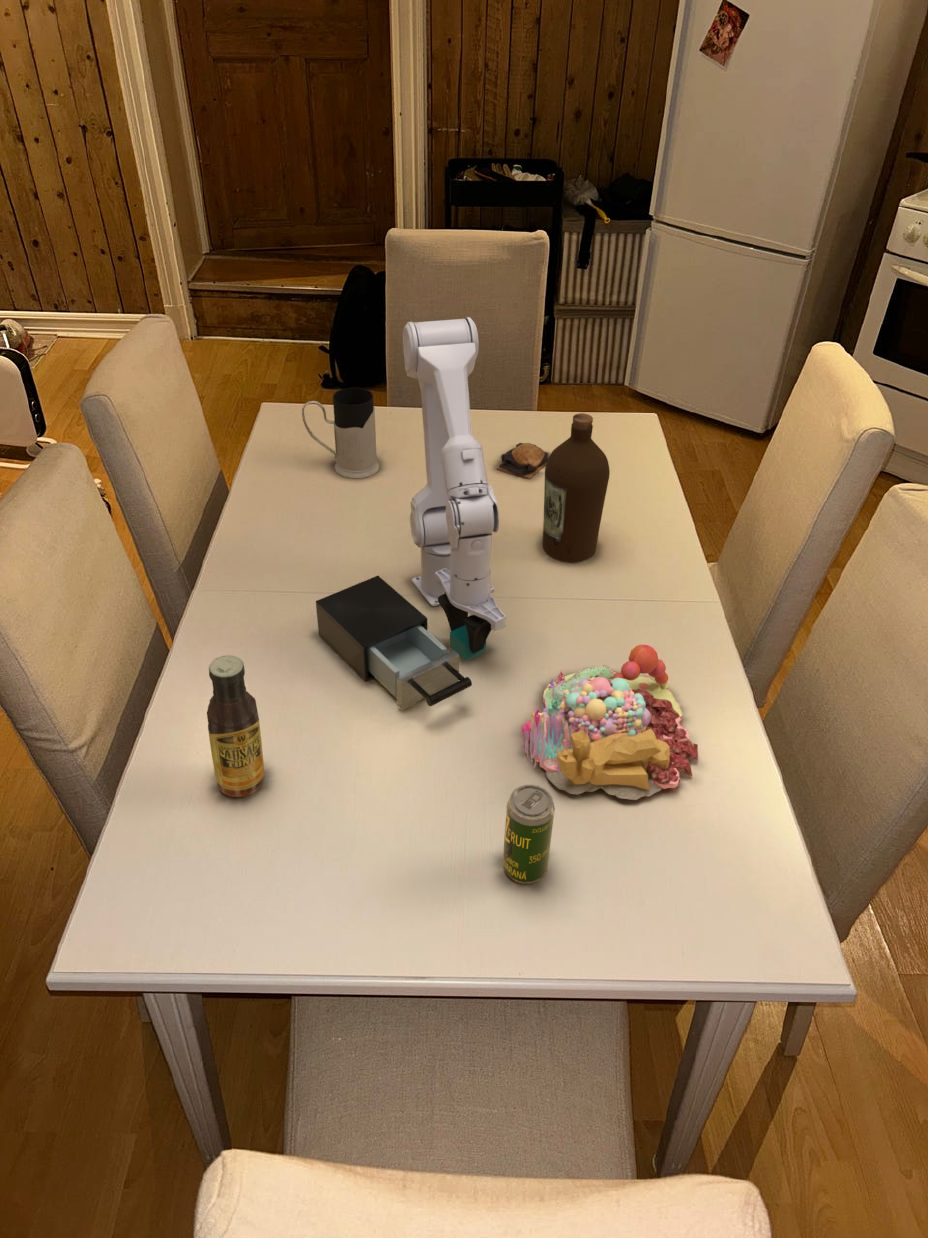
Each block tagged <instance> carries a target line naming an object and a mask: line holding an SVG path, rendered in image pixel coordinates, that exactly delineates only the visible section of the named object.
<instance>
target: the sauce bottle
mask: <svg viewBox="0 0 928 1238" xmlns="http://www.w3.org/2000/svg"><path fill="white" fill-rule="evenodd" d="M245 674H246V670H245V665H244V661H243V660H242V659H241V658H240V657H238V656H235V655H232V654H231V655H229V654H227V655H221V656H218V657H216V658H214V659H213V660H212V661H211V662H210V664H209V666H208V677H209V679H210V680H211V683H212V696H211V698H210V699H209V703H208V705H207V710H206V718H207V731H208V737H209V746H210V753H211V759H212V765H213V772H214V777H215V781H216V783H217V784H216V785H217V788H218V790H219V791H220V792H221V793H222V794H223V795H225V796H227V797H232V798H244V797H248V796H250V795H251V794H253V793H255V792H256V791H258V790H259V789H260V788H261V787H262V785H263V782H264V777H265V763H264V754H263V741H262V733H261V726H260V718H259V711H258V705H257V701H256V698H255V697H254V696H253V695H251V693H250V692H248V691H247V687H246V685H245Z"/></svg>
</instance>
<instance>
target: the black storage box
mask: <svg viewBox="0 0 928 1238" xmlns="http://www.w3.org/2000/svg"><path fill="white" fill-rule="evenodd" d="M315 608H316V619H317V629H318V631H317V632H318V636H319V637H320V638H321V639H322V640H323V641H324V642H325V643H326V645H328V646H329V647H330V648H331V650H333V651H334V653H336V654H337V655H338V656H339V657H340V658H341V659H342V660H343V661H344V662H345V663H346V664H347V665H348V666H349V667H350V669H352V671H354V672H355V673H356V674H357V675H358V676H359V677H360V678H361V679H362V681H364V683H367V682H369V681H371V680H374V679H376V678H375V677H374V676H373V675H372V674H371V673H370V672H369V671H368V659H367V649H368V648H370V647H372V646H374V645H376V644H379V643H381V642H383V641H385V640H387V639H390V638H392V637H394V636H396V635H398V634H401V633H403V632H405V631H407V630H409V629H412V628H414V627H416V626H418V625H421V626H422V627H423V628H425V629H426V630H427V631H428V628H429V627H428V624H429V623H428V621H429V620H428V617H427V616H426V615H424V614H423V612H421V611H420V610H418V609H417V608H416V607H415V606H414V605H413V604H412V603H411V602H409V600H407V599H406V598H405V597H404V596H403V595H402V594H400V593H399V592H398V591H397V590H396V589H395V588H393V587H392V586H391V585H390V584H389V583H388V582H387V581H385V580H384V579H383V578H382V577H381V576H380V575H375V576H373V577H371V578H368V579H365V580H363V581H361V582H359V583H356V584H354V585H351V586H349V587H347V588H344V589H342V590H339V591H337V592H334V593H331V594H330V595H327V596H325V597H322V598H320V599H317V600H315ZM428 632H429V631H428Z"/></svg>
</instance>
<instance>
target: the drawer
mask: <svg viewBox="0 0 928 1238" xmlns="http://www.w3.org/2000/svg"><path fill="white" fill-rule="evenodd" d="M367 659H368V671H369V672H370V673H371V674H372V675H373V676H374V677H375V678H374V679H376V680H377V681H378V682H379V683H380V684H381V685H382V686H383V687H384V688H385V689H386V690H387V691H388V692H389V693H390V694H391V695H392V696H393V697H394V698H396V705H397V706H398V707H399V708H400V709H401V710H404V709H406V708H408V707H410V706H413V705H414V704H416V703H418V702H421V701H422V700H425V703H426V705H427V706H428V707H433V706H435V705H437V704H439V703H441V702H442V701H445V700H446V699H449V698H450V697H453V696H455V695H457V694H458V693H460V692H462V691H464V690H466V689H469V688H470V687H472V685H473V682H472V680H471V678H470V677H468V676H464V675H463V674H461V673H460V656H459V654H458V653H457V652H456V651H455V650H454V651H453V650H452V651H450V652H448V649H447V647H446V646H445V645H444V644H443V643H442V642H441V641H440V640H439V639H437V638H436V637H435V636H433V634H432V633H430V632H429V631H427V630H426V629H425V628H423V627H422V626H421V625H418V626H416V627H414V628H412V629H409V630H407V631H405V632H403V633H401V634H398V635H396V636H394V637H392V638H390V639H387V640H385V641H383V642H381V643H379V644H376V645H374V646H372V647H370V648H368V649H367Z"/></svg>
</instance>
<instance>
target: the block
mask: <svg viewBox="0 0 928 1238" xmlns="http://www.w3.org/2000/svg"><path fill="white" fill-rule="evenodd" d="M449 648H450V649H451V650H452V651H454V650H455V651H456V652H457V653H458V654H459V658H461V659H462V660H463V661H465V662H466V661H469V660H470V659H472V658H474V657H477V656H478V655H481V654H483V653H484V652H486V651H487V642H486V643H485V646H484V648H483V649H482V650H480V651H478V652H476V653H472V652H471V651H470V647H469V636H468V632H467V628H466V626H465V625H464V626H462V627H460V628H458V629H455V630H453V631H451V630H450V631H449Z"/></svg>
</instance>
